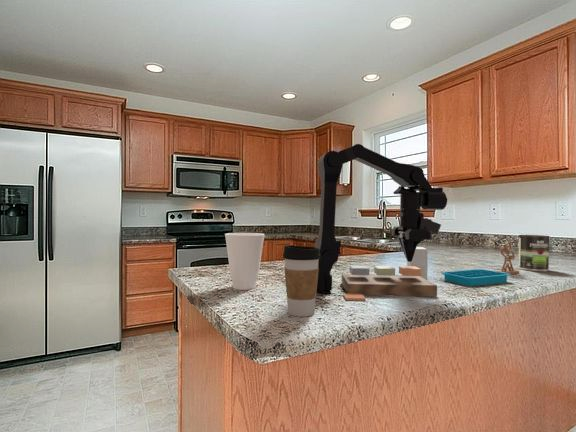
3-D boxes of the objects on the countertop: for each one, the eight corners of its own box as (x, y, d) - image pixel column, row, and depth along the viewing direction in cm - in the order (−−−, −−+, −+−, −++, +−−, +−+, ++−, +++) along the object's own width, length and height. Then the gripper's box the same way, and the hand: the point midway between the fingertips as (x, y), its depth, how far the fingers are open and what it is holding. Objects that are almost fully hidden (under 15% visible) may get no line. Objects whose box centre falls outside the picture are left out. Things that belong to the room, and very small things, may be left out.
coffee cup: (281, 307, 79) (281, 244, 79) (316, 307, 80) (317, 244, 80) (283, 319, 71) (284, 247, 71) (323, 318, 71) (323, 247, 71)
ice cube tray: (439, 281, 114) (439, 272, 114) (480, 277, 122) (480, 268, 122) (469, 288, 104) (469, 278, 104) (512, 283, 112) (512, 274, 112)
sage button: (377, 275, 98) (377, 268, 98) (374, 272, 103) (374, 265, 103) (395, 275, 98) (395, 268, 98) (390, 272, 103) (390, 266, 103)
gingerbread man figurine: (509, 271, 132) (509, 241, 132) (519, 273, 129) (520, 242, 128) (495, 273, 128) (495, 242, 128) (505, 275, 124) (506, 243, 124)
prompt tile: (345, 300, 86) (345, 298, 86) (343, 295, 91) (343, 293, 91) (365, 300, 86) (365, 298, 86) (361, 295, 91) (361, 293, 91)
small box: (427, 280, 114) (427, 249, 114) (410, 279, 115) (410, 248, 115) (423, 275, 122) (423, 246, 122) (406, 275, 123) (407, 246, 123)
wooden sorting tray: (348, 294, 92) (348, 283, 92) (341, 283, 107) (341, 274, 107) (436, 296, 91) (437, 285, 91) (417, 284, 106) (417, 275, 106)
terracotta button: (403, 275, 98) (403, 268, 98) (398, 272, 103) (398, 266, 103) (421, 276, 98) (421, 269, 98) (415, 272, 103) (415, 266, 103)
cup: (259, 282, 108) (259, 232, 108) (268, 290, 97) (269, 234, 97) (221, 284, 105) (222, 232, 104) (227, 292, 93) (227, 235, 93)
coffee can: (554, 272, 133) (555, 236, 133) (526, 271, 134) (526, 235, 134) (539, 267, 143) (540, 234, 143) (513, 267, 145) (513, 234, 144)
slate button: (352, 274, 99) (352, 268, 99) (349, 272, 104) (349, 265, 104) (369, 275, 98) (369, 268, 98) (365, 272, 103) (366, 265, 103)
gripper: (451, 209, 91) (450, 267, 91) (425, 210, 109) (425, 258, 109) (409, 209, 91) (409, 266, 91) (391, 209, 110) (390, 257, 110)
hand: (409, 261), depth 100 cm, fingers closed
